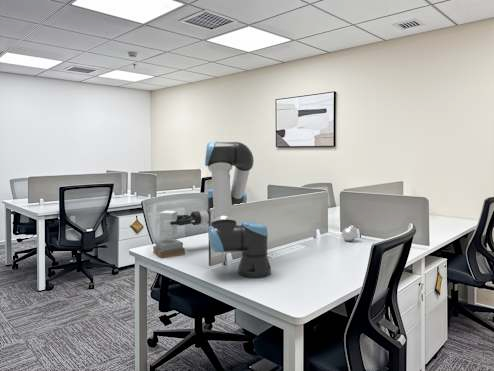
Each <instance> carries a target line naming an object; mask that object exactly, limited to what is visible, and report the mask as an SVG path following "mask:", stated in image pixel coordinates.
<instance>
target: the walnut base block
mask: <svg viewBox="0 0 494 371" xmlns="http://www.w3.org/2000/svg"><path fill="white" fill-rule="evenodd" d="M152 249H153V254H154V255H156V256H157V257H158V258H160V259H167V258H172V257H173V258H174V257H179V256H185V255H186V254H185V253H186V248H185V247H183V248H181V249H175V250H168V251H162V250H160V249H159V248H157V247H156V245H153V247H152Z"/></svg>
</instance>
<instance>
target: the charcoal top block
mask: <svg viewBox="0 0 494 371" xmlns="http://www.w3.org/2000/svg"><path fill="white" fill-rule="evenodd" d="M183 245H184V242H183V241H180V240H178V239H176V238H169V239H163V240H155V246H156V247H157V248H159V249H160V250H162V251H168V250H175V249H181V248H184V246H183Z"/></svg>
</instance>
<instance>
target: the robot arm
mask: <svg viewBox="0 0 494 371" xmlns="http://www.w3.org/2000/svg"><path fill="white" fill-rule="evenodd" d="M205 149H206V150H205V159H204V160H205V161H204V166H205V167H207V168H208V170H209V172H210V173H211V186H212V188H211V189H208V191H207V210H198V211H197V210H196V211H191V213H190V215H189V214H177V221H176V220H169V221H164V226H172V225H176V224H177V226H185V225H190V224H191V225H193V226H199V225H206V224H210V226H208V228H207V233H208V240H209V245H210V249H211V250H212V252H214V253H228V252H229V253H230V252H233V253H234V252H241V258H240V262H239V265H238V268H237V274H239V275H240V276H242V277H244V278H245V277H246V278H256V279H257V278H264V277H269V275H271V272H272V268H271V264H270V262H269V257H268V235H269V234H268V227H267V225H266V224H264V223H260V222H258V221H257V222H256V221H250V220H249V221H248V220H245V221H242V222H241V225H237V220H236V219H235V218H234V216H233V215H234V214H233V206H235V205H234V204H240V203H246V204H247V200H248V199H247V198H248V197H247V193H246V192H245V191H246V187H247V182H248V179H249V175H250V170H251V169H252V168H253V166H254V163H255V162H254V156H253V153H252V151H251V149H250V148H249V147H248V146H247V145H246V144H244V143H243V142H239V141H212V142H211V141H210V142H208V143H207V144H206V148H205ZM233 167H235V168H234V174H233V178H232V179H233V180H232V185H231V176H230V175H231V174H230V172H231V170H232V169H233ZM213 207H214V220H213V221H212V222H211V223H209V209H210V208H213ZM156 219H157V220H156V223H157V224H158V223H159V224H160V216H158V217H157V218H156Z"/></svg>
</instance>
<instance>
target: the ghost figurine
mask: <svg viewBox="0 0 494 371" xmlns="http://www.w3.org/2000/svg"><path fill="white" fill-rule="evenodd" d="M357 231H358V230H357V228H356V226H354V225H352V224H351V225H349V226H348V227H344V229H343V230H342V232H341V237H342V239H343V240H345V241H347V242H353V241H355V239H357V238H358V236H359V235H358V232H357Z"/></svg>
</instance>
